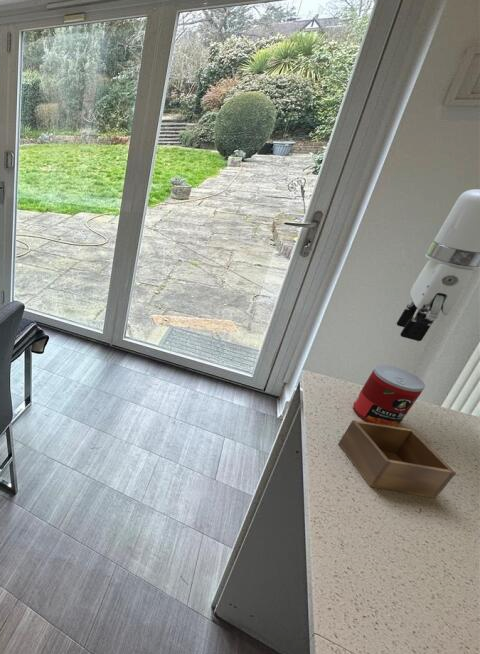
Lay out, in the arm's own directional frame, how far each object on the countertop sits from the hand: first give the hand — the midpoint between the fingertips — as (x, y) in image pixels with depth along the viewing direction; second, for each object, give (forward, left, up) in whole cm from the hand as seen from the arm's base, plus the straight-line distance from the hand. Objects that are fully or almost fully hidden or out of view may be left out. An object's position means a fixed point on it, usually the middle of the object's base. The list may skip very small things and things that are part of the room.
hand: (408, 331), depth 88 cm
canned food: (+4, +8, -18) cm, 20 cm away
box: (+11, +24, -17) cm, 32 cm away
